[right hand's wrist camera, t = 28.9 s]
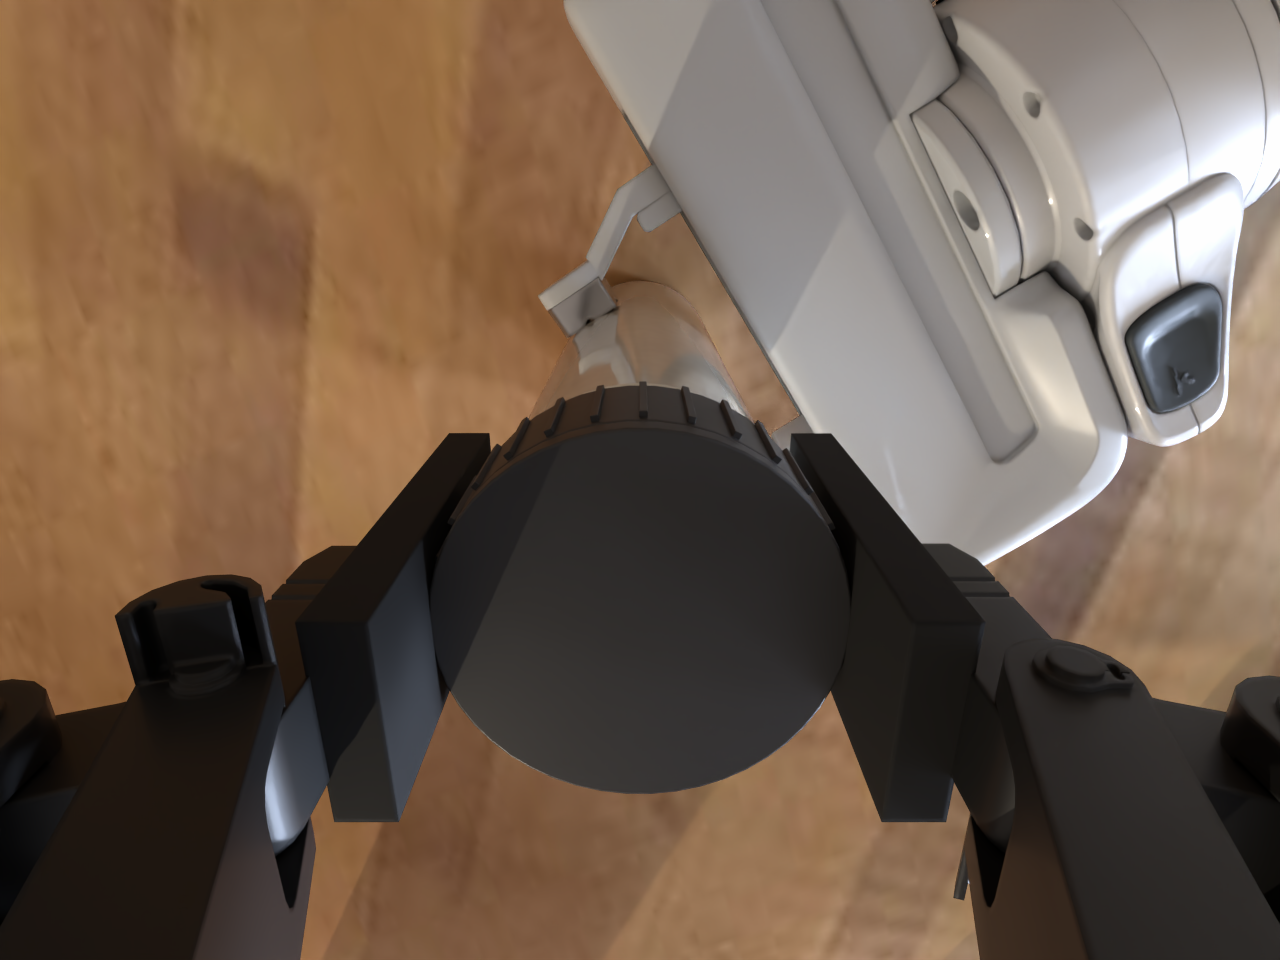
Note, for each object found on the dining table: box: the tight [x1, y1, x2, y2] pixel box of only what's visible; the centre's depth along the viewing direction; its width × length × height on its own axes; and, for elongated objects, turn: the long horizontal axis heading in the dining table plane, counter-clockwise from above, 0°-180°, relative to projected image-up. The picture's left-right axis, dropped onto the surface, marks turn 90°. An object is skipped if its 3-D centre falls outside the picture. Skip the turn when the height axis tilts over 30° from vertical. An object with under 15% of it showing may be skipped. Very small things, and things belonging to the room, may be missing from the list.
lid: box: [429, 381, 851, 794], centre depth 11 cm, size 6×6×2 cm
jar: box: [528, 281, 755, 424], centre depth 20 cm, size 5×5×18 cm
